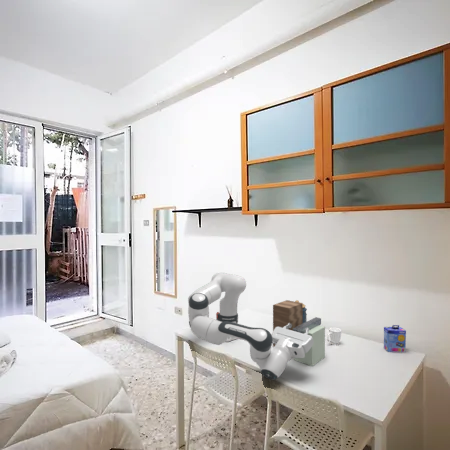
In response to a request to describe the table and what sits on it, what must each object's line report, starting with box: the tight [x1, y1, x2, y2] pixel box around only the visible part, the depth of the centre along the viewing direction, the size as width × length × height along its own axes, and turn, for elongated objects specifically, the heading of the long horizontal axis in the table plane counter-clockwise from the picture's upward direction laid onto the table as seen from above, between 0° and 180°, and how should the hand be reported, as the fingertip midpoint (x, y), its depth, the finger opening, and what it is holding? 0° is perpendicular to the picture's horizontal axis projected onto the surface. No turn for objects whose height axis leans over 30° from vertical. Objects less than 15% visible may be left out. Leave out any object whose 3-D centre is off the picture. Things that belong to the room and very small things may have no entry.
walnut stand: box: [272, 299, 304, 347], centre depth 165 cm, size 14×10×26 cm
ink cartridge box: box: [383, 324, 407, 353], centre depth 166 cm, size 10×6×14 cm, turn 87°
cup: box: [326, 327, 343, 346], centre depth 175 cm, size 7×10×8 cm
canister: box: [294, 299, 308, 323], centre depth 206 cm, size 13×13×18 cm
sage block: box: [293, 324, 326, 367], centre depth 156 cm, size 14×10×16 cm
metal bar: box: [293, 316, 322, 333], centre depth 154 cm, size 24×3×3 cm, turn 136°
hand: (299, 326), depth 148 cm, fingers open, 8 cm apart
